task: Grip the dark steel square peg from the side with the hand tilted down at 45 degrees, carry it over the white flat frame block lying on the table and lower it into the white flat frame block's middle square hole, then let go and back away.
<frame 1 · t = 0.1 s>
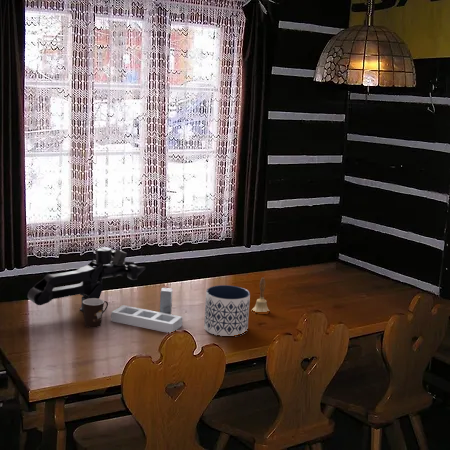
hand: (139, 265, 314), 17 cm above the table, tool horizontal, fingers open, 9 cm apart
white flat frame block: (146, 323, 290), on the table
planter: (225, 329, 289), on the table
coffee mug: (96, 324, 285), on the table
steel peg: (165, 316, 300), on the table
hand bell: (260, 312, 313), on the table
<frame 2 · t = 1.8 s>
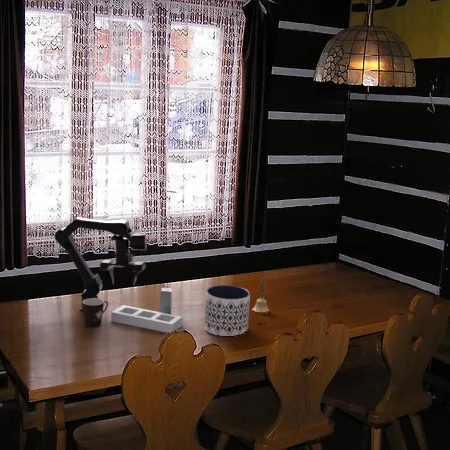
hand: (123, 284, 298), 13 cm above the table, tool pointing down, fingers open, 9 cm apart
nothing on the table moved.
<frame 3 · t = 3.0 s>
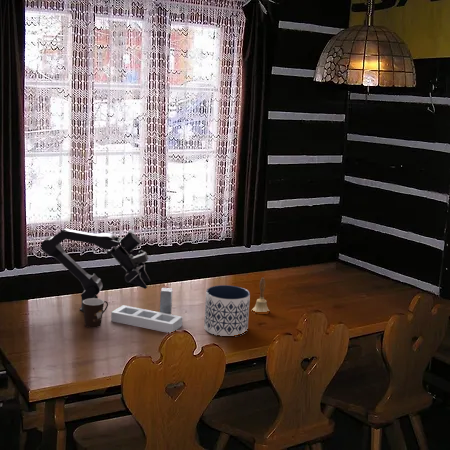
hand: (148, 284, 297), 13 cm above the table, tool tilted 45°, fingers open, 9 cm apart
nothing on the table moved.
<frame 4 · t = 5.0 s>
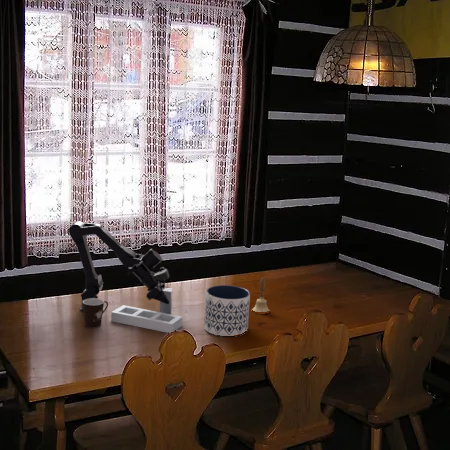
hand: (169, 301, 298), 7 cm above the table, tool tilted 45°, fingers closed on steel peg, 4 cm apart
steel peg: (165, 315, 300), on the table, touching gripper
everything else where it was.
when the fingers open (8 cm above the table, at t = 8.7 s): steel peg stays where it is, resting in white flat frame block.
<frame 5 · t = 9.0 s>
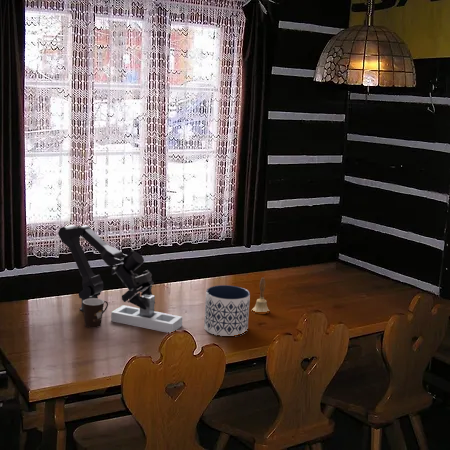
hand: (150, 306, 288), 8 cm above the table, tool tilted 45°, fingers open, 7 cm apart
steel peg: (146, 323, 290), resting in white flat frame block
everything else where it was.
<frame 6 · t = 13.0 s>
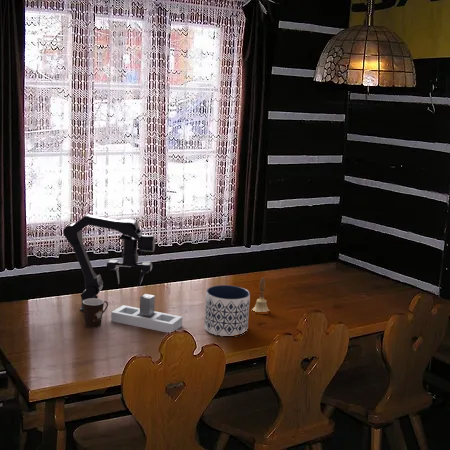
hand: (129, 284, 297), 13 cm above the table, tool pointing down, fingers open, 9 cm apart
nothing on the table moved.
at the end: steel peg 0.0 cm off-centre on the white flat frame block, point 0.0 cm above the white flat frame block's base; steel peg tilted 0°; the gripper is holding nothing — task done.
